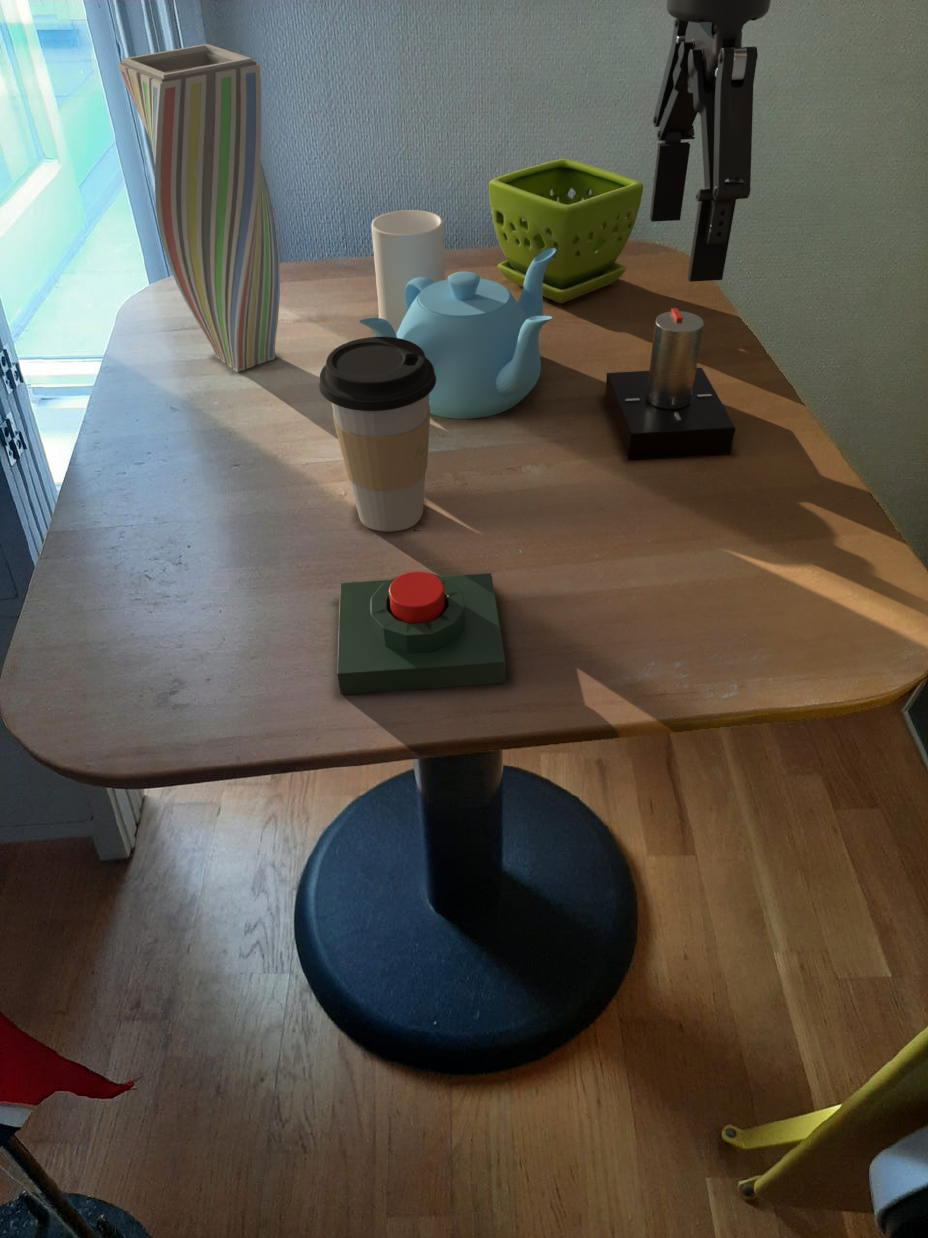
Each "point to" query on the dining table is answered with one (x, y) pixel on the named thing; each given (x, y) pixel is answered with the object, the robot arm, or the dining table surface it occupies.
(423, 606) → the button
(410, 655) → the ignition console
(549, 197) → the flower pot
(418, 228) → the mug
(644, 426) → the panel
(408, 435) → the coffee cup
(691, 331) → the stove knob
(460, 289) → the teapot
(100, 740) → the dining table surface
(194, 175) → the vase
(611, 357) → the dining table surface
